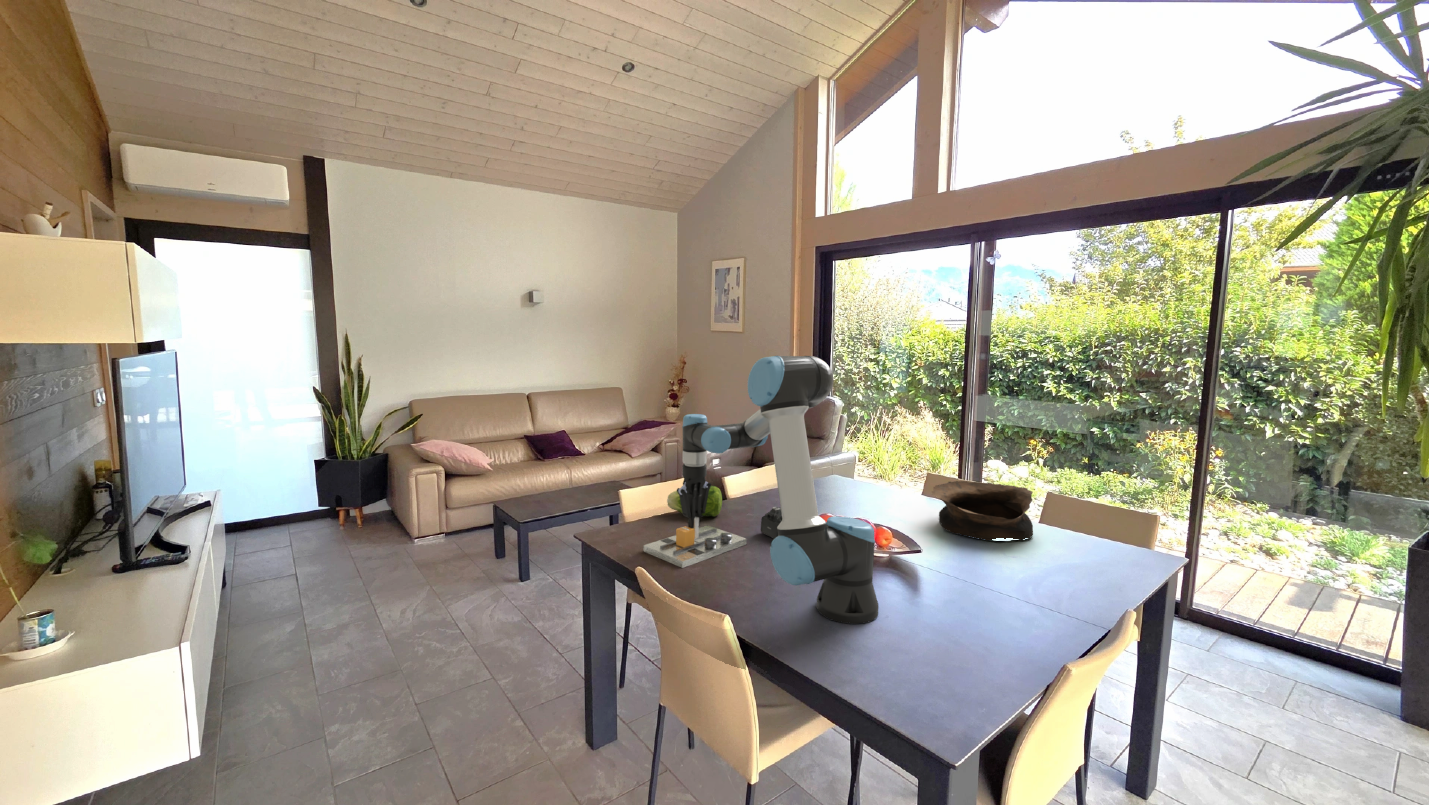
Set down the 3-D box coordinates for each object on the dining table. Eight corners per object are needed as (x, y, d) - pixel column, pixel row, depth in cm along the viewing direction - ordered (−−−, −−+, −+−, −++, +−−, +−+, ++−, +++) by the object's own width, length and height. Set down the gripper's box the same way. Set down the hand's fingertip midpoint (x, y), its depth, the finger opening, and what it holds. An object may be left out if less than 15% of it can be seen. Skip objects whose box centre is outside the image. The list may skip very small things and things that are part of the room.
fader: (694, 544, 190) (694, 528, 189) (684, 547, 187) (684, 531, 187) (685, 541, 193) (685, 525, 192) (676, 544, 190) (676, 528, 189)
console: (746, 544, 197) (746, 531, 197) (682, 568, 177) (682, 553, 177) (707, 530, 210) (707, 518, 209) (643, 551, 190) (643, 537, 189)
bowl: (1054, 552, 199) (1058, 509, 196) (953, 556, 199) (955, 513, 196) (1004, 511, 233) (1006, 473, 230) (917, 514, 233) (918, 477, 229)
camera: (803, 537, 205) (804, 508, 204) (789, 545, 197) (790, 515, 196) (769, 529, 213) (769, 501, 212) (754, 537, 205) (755, 508, 203)
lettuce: (669, 509, 234) (669, 481, 232) (722, 511, 232) (723, 482, 231) (664, 519, 222) (664, 488, 221) (721, 520, 221) (721, 490, 220)
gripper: (701, 458, 197) (700, 529, 200) (670, 465, 188) (670, 538, 190) (717, 462, 191) (716, 535, 194) (687, 469, 182) (686, 545, 185)
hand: (693, 536), depth 192 cm, fingers closed
